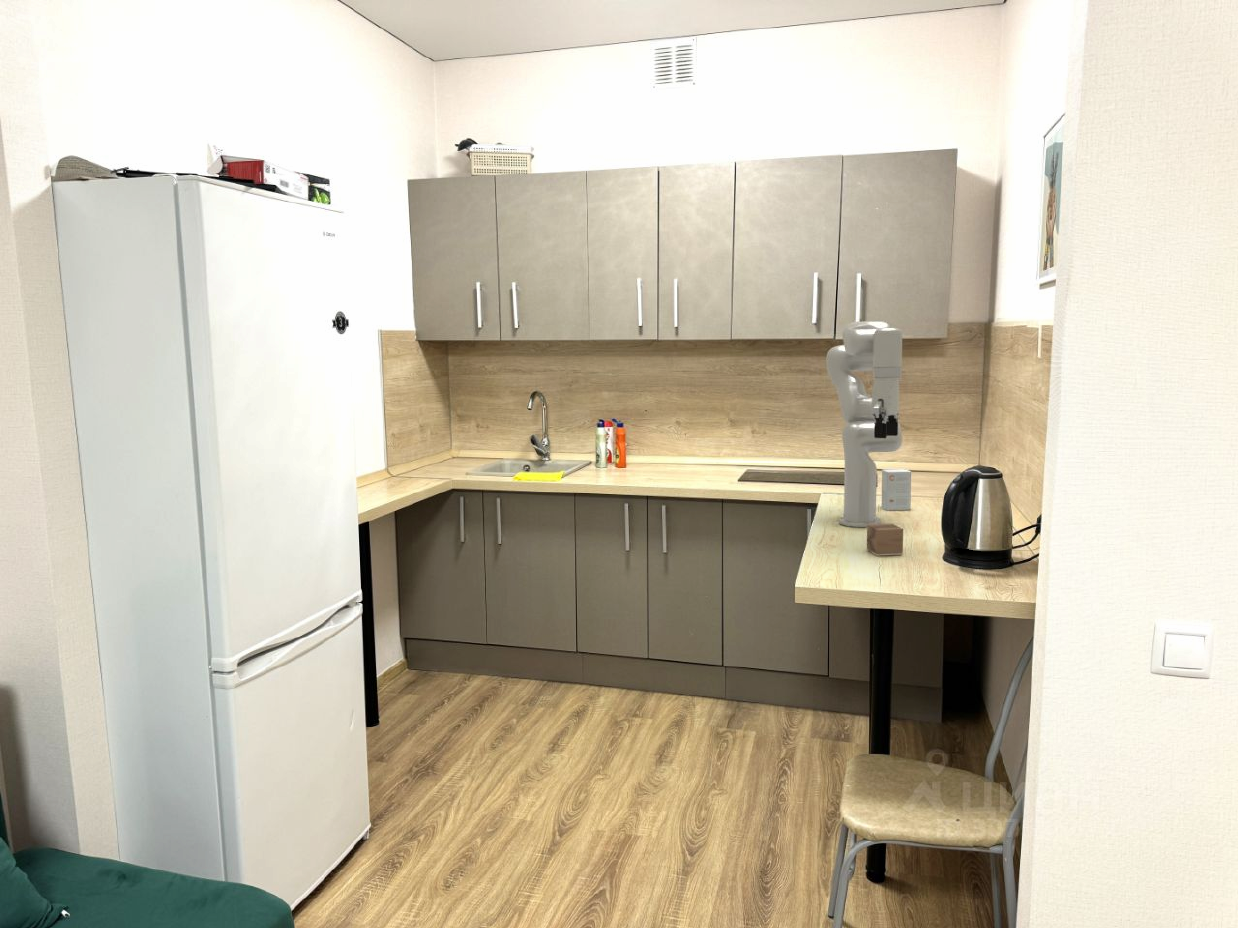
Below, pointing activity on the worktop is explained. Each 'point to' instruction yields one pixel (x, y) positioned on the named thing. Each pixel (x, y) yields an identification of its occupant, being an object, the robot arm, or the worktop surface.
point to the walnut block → (885, 539)
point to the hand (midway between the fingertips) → (886, 436)
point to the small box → (896, 489)
